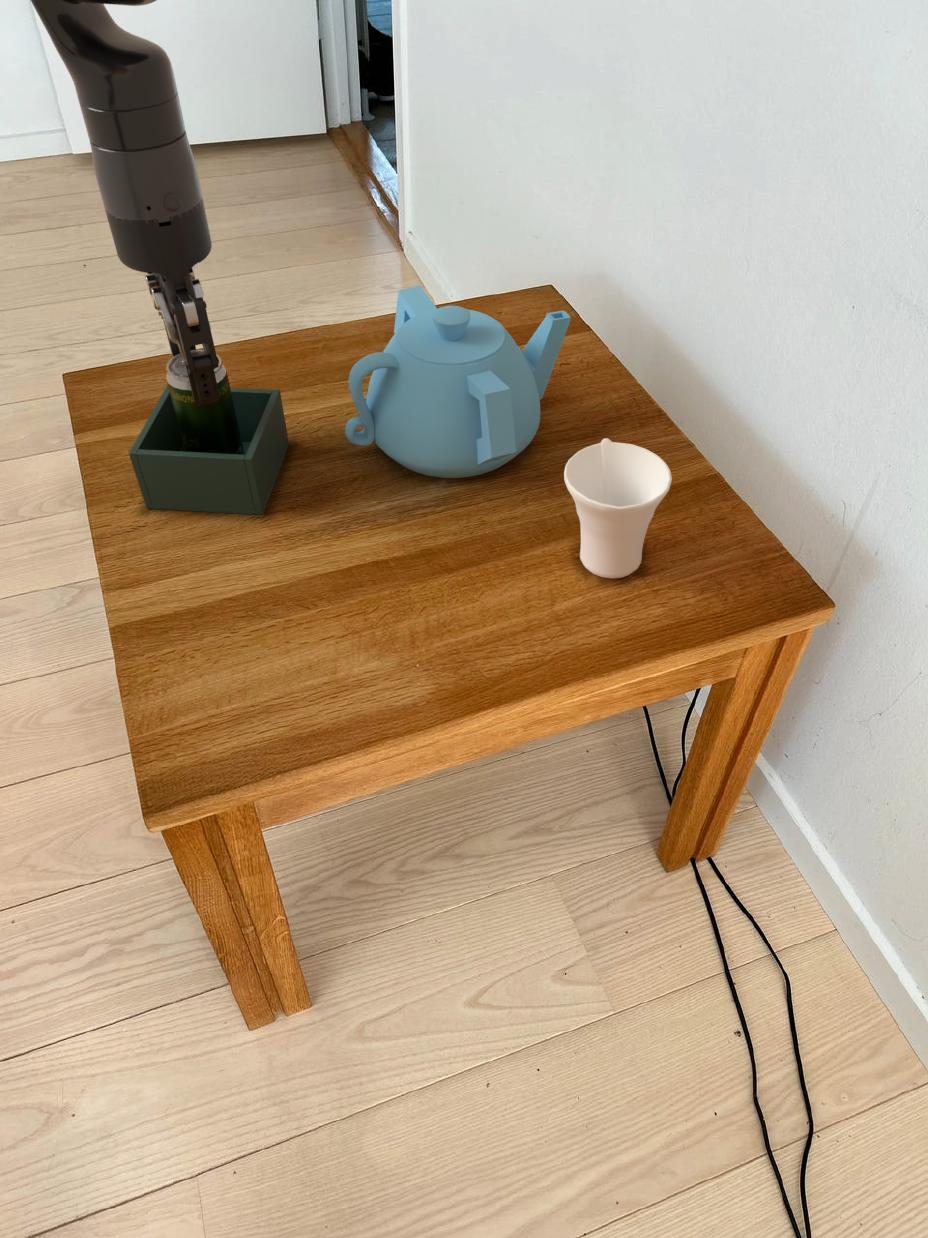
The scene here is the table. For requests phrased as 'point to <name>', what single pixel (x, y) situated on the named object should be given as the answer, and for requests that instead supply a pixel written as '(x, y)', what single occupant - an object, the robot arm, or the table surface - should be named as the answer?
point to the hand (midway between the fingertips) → (195, 378)
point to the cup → (615, 503)
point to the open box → (212, 459)
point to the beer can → (204, 412)
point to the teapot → (453, 388)
